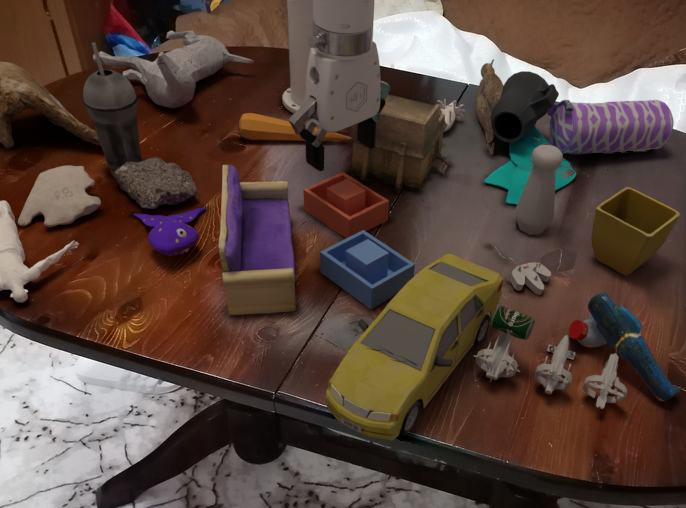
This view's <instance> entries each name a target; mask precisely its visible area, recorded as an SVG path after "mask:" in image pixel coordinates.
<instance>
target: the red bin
mask: <svg viewBox="0 0 686 508" xmlns="http://www.w3.org/2000/svg"><path fill="white" fill-rule="evenodd" d="M346 179H348V180H350V181H351V182H353V183H355V184H356V185H358V186H359V187H361V188H363V189H364V190H365V191H366V192H365V209H364V210H362V211H360V212H358V213H356V214H354V215H352V216H350V217H349V216H348V215H346V214H345V213H343V212H342V211H340V210H339V209H337V208H336V207H334V206H333V205H331V204H330V203H328V202H327V188H328V187H330V186H333V185H335V184H337V183H339V182H342V181H344V180H346ZM389 204H390V200H389V199H387V198H386V197H384V196H383V195H381V194H379V193H378V192H376V191H374V190H373V189H371V188H370V187H369V186H366V184H361V183H360V181H359V180H357V179H356V178H353V177H352V176H350V175H348V174H347V173H345V172H343V171H342V172H340V173H338V174H335V175H333V176H331V177H328V178H326V179H324V180H322V181H319V182H317V183H315V184H312V185H310V186H308V187H305V188H303V210H304V211H306V212H307V213H308V214H309V215H312V216H313V217H314V218H316V219H317V220H319V221H320V222H321V223H323V224H325V225H326V226H328V227H329V228H330V229H332V230H333V231H335V232H336V233H338V234H339V235H340V236H342V237H344V239H346V238H348V237H350V236H352V235H354V234H356V233H358V232H360V231H362V230H364V231H366V232H368V231H370V230H371V229H374V228H376V227H377V226H380V225H381V224H384V223H386V222H388V221H389V220H388V219H389V207H390V205H389Z"/></svg>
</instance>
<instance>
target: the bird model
mask: <svg viewBox="0 0 686 508" xmlns="http://www.w3.org/2000/svg"><path fill="white" fill-rule="evenodd" d="M494 61H495V59H494V58H493V59H492V60H491V62H486V63H484V64H483V65H482V66H481V67H480V68H481V69H480V76H481V79H480V81H479V84H478V89H477V96H476V116H477V120H478V122H479V124H480V126H481V128H482V129H483V132H484V134H485V140H486V142H487V143H486V148H487V151H488V153H489V155H490V156H491V157H493V155H494V150H495V147H496V140H495V136H496V135H495V134H494V131H493V129H492V125H491V119H490V116H491V112H492V109H493V108H494V106H495V105H496V103H497V102H498V100H499V99H500V98H501V95H502V91H503V87H504V84H503V80H501V78H500V77H499V76H498V75H497V73H496V71H495V68H494V67H493V64H494Z"/></svg>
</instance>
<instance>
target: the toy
mask: <svg viewBox="0 0 686 508" xmlns="http://www.w3.org/2000/svg"><path fill="white" fill-rule="evenodd" d="M206 209H207V208H206V207H199V208H194V209H192V210H188V211H186V212H183V213H179V214H169V215H167V216H165V215H161V214H159V215H157V214H156V215H151V214H147V213H133V216H135V217H137V218H138V219H140V220H141V222H142V223H143V224H144V225H146V226H148V227H152V229H151V230H150V231H149V233H148V237H147V239H148V242H149V244H150V246H151V247H152V248H153V249H154V250H155V251H157V252H158V253H161V254H162V255H166V256H170V257H177V256H178V255H180V254H181V255H185V254H187V253H188V252H189V250H190V249H191V248H192V247H193V246H194V245H195V244H196V243H197V242H198V240H199V237H200V235H199V233H198V231H197V230H196V229H195V228H193V227H192V226H190V225H189V223H192V222H193V221H194V220H195V219H196V218H197V217H198V215H200V214H201V213H203V212H204V211H205V210H206Z"/></svg>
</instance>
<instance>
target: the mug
mask: <svg viewBox="0 0 686 508" xmlns="http://www.w3.org/2000/svg"><path fill="white" fill-rule="evenodd" d="M503 85H504V87H503V91H502V95H501V98H500V99H499V100H498V102H497V103H496V105H495V106H494V108H493V109H492V112H491V116H490V119H491V125H492V129H493V131H494V134H495V136H496V138H498V139H499V140H501V141H502V142H506V143H509V142H514V141H519V140H523V139H524V138H526V137H527V136H528V135H529V134H530V133H531V131H532V129H533V128H534V126H536V124H537V121H539V120H540V119H542V118H543V117H545V116H546V115H547V109H549V108H551V107H552V106H553V105H554V104H555V103H556V102H557V100H558V98H559V94H560V93H559V91H558V90H557V88H556V85H555V84H553V83H551V84H549V83H548V82H547V81H546V78H544V77H542V76H541V75H539V74H538V73H536V72H534V71H533V72H532V71H525V70H524V71H522V70H521V71H519V72H515V73H513V74H512V75H511V76H509V77H508V78H507V79H506V81H505V82H504V84H503Z"/></svg>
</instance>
